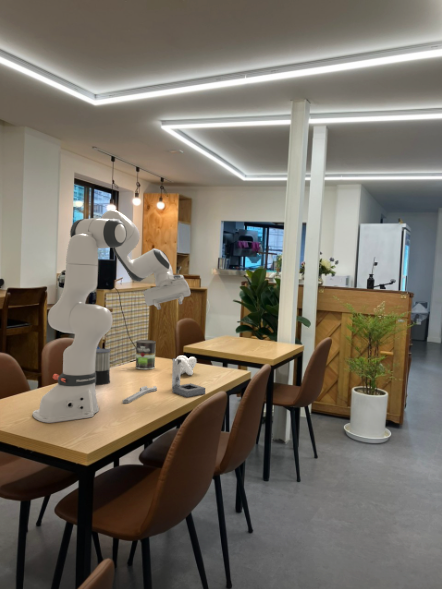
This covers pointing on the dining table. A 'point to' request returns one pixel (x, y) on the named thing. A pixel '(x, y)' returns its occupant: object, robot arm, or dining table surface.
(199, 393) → the socket block
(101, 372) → the milk frother
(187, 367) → the white knot
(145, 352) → the coffee can
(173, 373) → the keyed metal peg
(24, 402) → the dining table surface
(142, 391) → the adjustable wrench
